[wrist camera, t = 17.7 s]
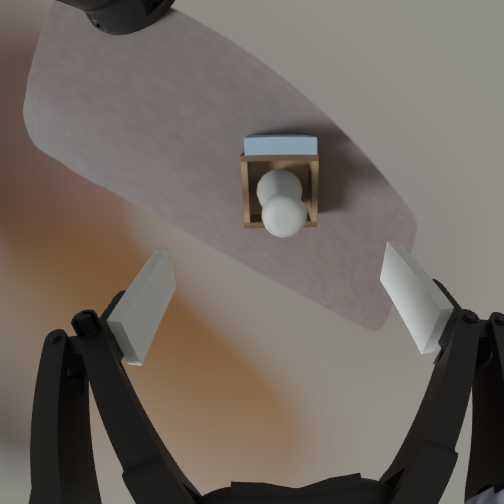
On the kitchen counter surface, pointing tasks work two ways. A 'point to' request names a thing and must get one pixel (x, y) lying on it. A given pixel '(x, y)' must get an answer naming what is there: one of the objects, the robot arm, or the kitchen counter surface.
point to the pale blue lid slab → (280, 144)
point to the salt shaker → (281, 203)
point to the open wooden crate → (262, 164)
